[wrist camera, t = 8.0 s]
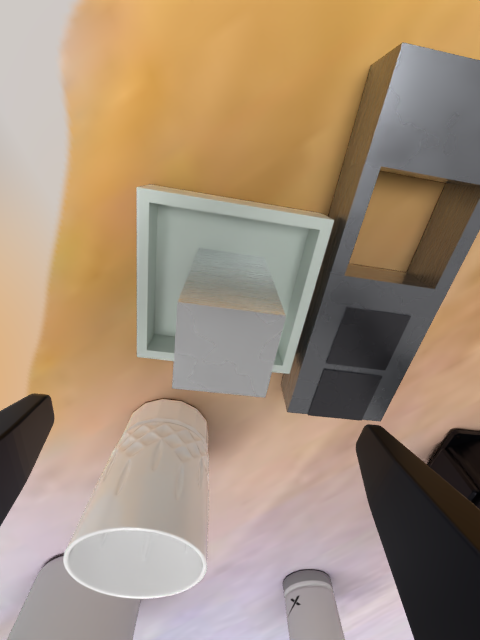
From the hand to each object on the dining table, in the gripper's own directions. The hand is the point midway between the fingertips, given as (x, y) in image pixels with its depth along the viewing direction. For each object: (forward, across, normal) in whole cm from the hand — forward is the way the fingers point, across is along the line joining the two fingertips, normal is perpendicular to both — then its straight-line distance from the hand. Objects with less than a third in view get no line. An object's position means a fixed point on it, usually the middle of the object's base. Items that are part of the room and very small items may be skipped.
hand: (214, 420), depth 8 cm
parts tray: (+12, 0, 0) cm, 12 cm away
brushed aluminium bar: (+12, 0, 0) cm, 12 cm away
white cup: (+12, +3, +14) cm, 19 cm away
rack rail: (+12, -9, -2) cm, 15 cm away
